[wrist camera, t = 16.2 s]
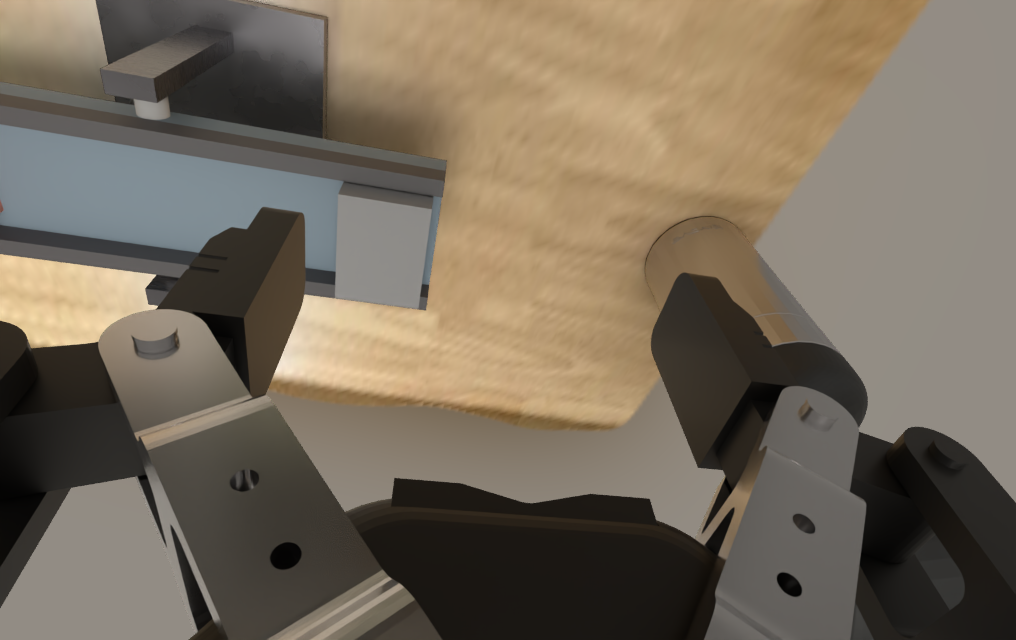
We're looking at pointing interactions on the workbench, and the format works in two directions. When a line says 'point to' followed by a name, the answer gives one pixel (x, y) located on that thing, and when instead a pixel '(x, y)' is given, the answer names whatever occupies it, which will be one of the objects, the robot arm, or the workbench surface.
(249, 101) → the pivot stand
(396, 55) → the workbench surface
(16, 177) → the balance beam
